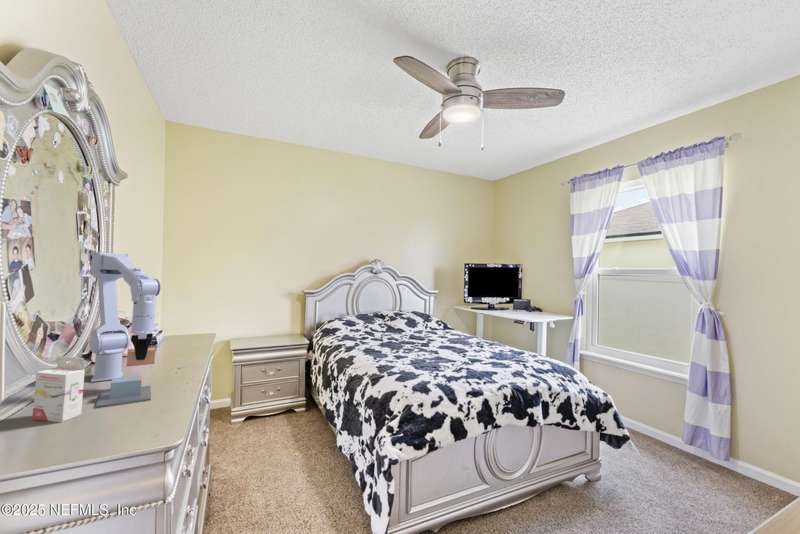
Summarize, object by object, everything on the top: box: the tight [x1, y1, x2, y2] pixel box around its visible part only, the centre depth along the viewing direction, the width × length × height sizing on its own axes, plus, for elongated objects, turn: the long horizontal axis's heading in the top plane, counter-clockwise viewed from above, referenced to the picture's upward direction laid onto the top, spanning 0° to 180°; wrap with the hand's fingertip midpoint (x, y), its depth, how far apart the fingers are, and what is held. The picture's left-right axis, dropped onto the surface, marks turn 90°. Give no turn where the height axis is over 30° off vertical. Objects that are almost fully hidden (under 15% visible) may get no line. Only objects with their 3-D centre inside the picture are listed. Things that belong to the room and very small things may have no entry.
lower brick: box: [109, 375, 143, 399], centre depth 101 cm, size 4×7×4 cm, turn 127°
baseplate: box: [95, 385, 152, 409], centre depth 101 cm, size 14×12×1 cm
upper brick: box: [126, 347, 156, 367], centre depth 109 cm, size 4×7×4 cm, turn 127°
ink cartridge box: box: [31, 355, 86, 423], centre depth 85 cm, size 9×5×15 cm, turn 84°
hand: (140, 358), depth 109 cm, fingers closed on upper brick, 4 cm apart
